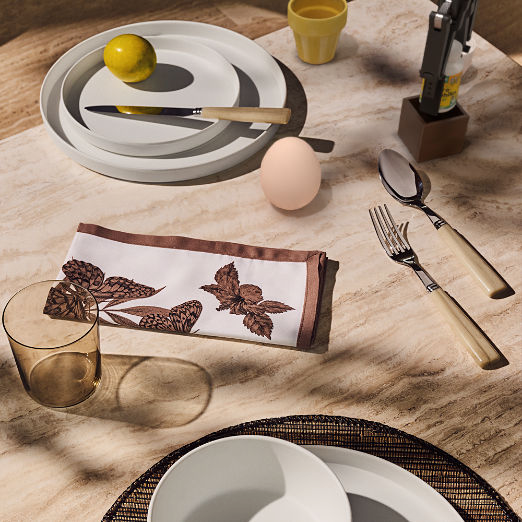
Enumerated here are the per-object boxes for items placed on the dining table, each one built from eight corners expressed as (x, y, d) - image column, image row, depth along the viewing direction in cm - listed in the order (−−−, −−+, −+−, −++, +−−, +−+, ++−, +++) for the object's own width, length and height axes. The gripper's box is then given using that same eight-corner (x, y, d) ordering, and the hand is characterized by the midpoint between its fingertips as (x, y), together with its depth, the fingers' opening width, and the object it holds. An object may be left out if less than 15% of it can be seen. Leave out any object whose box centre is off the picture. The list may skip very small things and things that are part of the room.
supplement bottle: (450, 91, 103) (463, 34, 96) (459, 112, 100) (472, 55, 93) (415, 93, 103) (425, 36, 96) (422, 114, 100) (433, 57, 93)
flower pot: (304, 33, 129) (305, -16, 122) (353, 47, 126) (357, -3, 118) (277, 61, 124) (277, 11, 116) (328, 76, 120) (331, 26, 113)
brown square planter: (438, 124, 111) (446, 88, 105) (460, 152, 106) (470, 116, 101) (397, 134, 109) (402, 97, 104) (417, 163, 105) (424, 126, 99)
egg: (294, 233, 96) (295, 172, 87) (248, 205, 100) (245, 145, 91) (331, 199, 100) (336, 138, 91) (286, 174, 104) (286, 113, 95)
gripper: (467, -90, 90) (438, 63, 108) (409, -31, 80) (386, 126, 98) (523, -78, 87) (483, 77, 105) (469, -16, 78) (435, 143, 95)
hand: (436, 100), depth 102 cm, fingers closed on supplement bottle, 5 cm apart
